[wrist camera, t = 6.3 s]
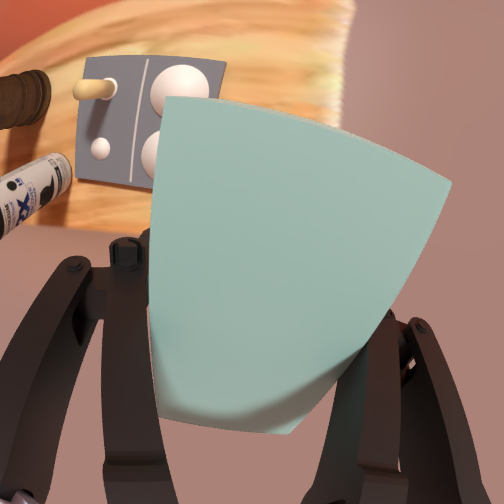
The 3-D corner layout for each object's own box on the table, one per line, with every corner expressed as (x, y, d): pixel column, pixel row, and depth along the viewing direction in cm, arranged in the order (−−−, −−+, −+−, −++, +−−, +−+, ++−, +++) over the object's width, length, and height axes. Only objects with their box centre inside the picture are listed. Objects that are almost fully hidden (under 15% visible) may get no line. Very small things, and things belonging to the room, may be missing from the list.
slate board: (78, 175, 32) (50, 192, 26) (90, 58, 24) (59, 54, 18) (199, 194, 34) (187, 216, 28) (226, 62, 26) (218, 53, 20)
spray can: (67, 200, 34) (-20, 275, 17) (39, 183, 33) (-50, 246, 15) (77, 161, 31) (-27, 224, 14) (47, 145, 30) (-55, 197, 12)
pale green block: (188, 301, 19) (158, 417, 11) (221, 99, 12) (165, 95, 4) (279, 317, 19) (288, 434, 12) (346, 131, 13) (452, 182, 5)
